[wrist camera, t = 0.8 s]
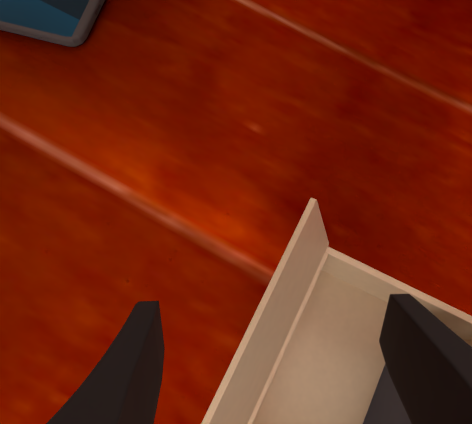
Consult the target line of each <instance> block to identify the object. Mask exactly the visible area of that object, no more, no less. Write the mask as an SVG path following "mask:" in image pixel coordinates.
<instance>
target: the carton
mask: <svg viewBox="0 0 472 424" xmlns="http://www.w3.org/2000/svg"><path fill="white" fill-rule="evenodd" d="M390 294H410V295H412V296H413V297H414V298H415V299H416V300H417V301H419V302H420V303H421V304H422V305H423V306H424V307H425V308H427V309H428V310H429V311H430V312H431V313H432V314H433V315H435V316H436V317H437V318H438V319H439V320H440V321H441V322H443V323H444V324H445V325H446V326H447V327H448V328H450V329H451V330H452V331H453V332H454V333H455V334H457V335H458V336H459V337H460V338H461V339H463V340H464V341H465V342H466V343H467V344H469V345H470V346H471V347H472V316H470V315H468V314H466V313H464V312H462V311H460V310H458V309H456V308H454V307H452V306H450V305H448V304H445V303H443V302H441V301H439V300H437V299H435V298H433V297H431V296H429V295H427V294H425V293H423V292H421V291H419V290H417V289H415V288H413V287H410V286H408V285H406V284H404V283H402V282H400V281H398V280H396V279H394V278H392V277H390V276H388V275H386V274H384V273H382V272H380V271H378V270H375V269H373V268H371V267H369V266H367V265H365V264H363V263H361V262H359V261H357V260H355V259H353V258H351V257H349V256H347V255H345V254H343V253H340V252H338V251H336V250H334V249H332V248H330V247H327V249H326V251H325V254H324V256H323V258H322V260H321V262H320V265H319V267H318V269H317V271H316V273H315V276H314V278H313V280H312V282H311V284H310V287H309V289H308V291H307V293H306V295H305V298H304V300H303V302H302V304H301V307H300V309H299V311H298V313H297V315H296V318H295V320H294V322H293V324H292V326H291V329H290V331H289V333H288V335H287V337H286V340H285V342H284V344H283V346H282V348H281V351H280V353H279V355H278V357H277V359H276V362H275V364H274V366H273V368H272V370H271V373H270V375H269V377H268V379H267V382H266V384H265V386H264V388H263V390H262V393H261V395H260V397H259V399H258V401H257V404H256V406H255V408H254V410H253V412H252V415H251V417H250V419H249V421H248V423H247V424H363V422H364V419H365V416H366V414H367V411H368V408H369V406H370V403H371V400H372V398H373V395H374V392H375V390H376V387H377V384H378V382H379V379H380V376H381V374H382V371H383V368H384V366H385V360H384V357H383V353H382V350H381V347H380V343H379V338H380V334H381V330H382V326H383V321H384V317H385V313H386V309H387V305H388V300H389V296H390Z"/></svg>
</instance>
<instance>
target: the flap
mask: <svg viewBox="0 0 472 424" xmlns="http://www.w3.org/2000/svg"><path fill="white" fill-rule="evenodd" d="M328 245H329V242H328V238H327V235H326V231H325V228H324V224H323V221H322V217H321V213H320V210H319V206H318V203H317V200H316V199H314V198H310V200H309V202H308V205H307V207H306V209H305V211H304V213H303V215H302V217H301V219H300V221H299V223H298V225H297V227H296V229H295V231H294V233H293V235H292V238H291V240H290V242H289V244H288V246H287V248H286V250H285V252H284V254H283V256H282V258H281V260H280V262H279V264H278V266H277V268H276V271H275V273H274V275H273V277H272V279H271V281H270V283H269V285H268V287H267V289H266V291H265V293H264V295H263V297H262V299H261V301H260V304H259V306H258V308H257V310H256V312H255V314H254V316H253V318H252V320H251V322H250V324H249V326H248V328H247V330H246V332H245V335H244V337H243V339H242V341H241V343H240V345H239V347H238V349H237V351H236V353H235V355H234V357H233V359H232V361H231V363H230V365H229V368H228V370H227V372H226V374H225V376H224V378H223V380H222V382H221V384H220V386H219V388H218V390H217V392H216V394H215V396H214V398H213V401H212V403H211V405H210V407H209V409H208V411H207V413H206V415H205V417H204V419H203V421H202V423H201V424H247V423H248V421H249V419H250V417H251V415H252V412H253V410H254V408H255V406H256V404H257V401H258V399H259V397H260V395H261V393H262V390H263V388H264V386H265V384H266V382H267V379H268V377H269V375H270V373H271V370H272V368H273V366H274V364H275V362H276V359H277V357H278V355H279V353H280V351H281V348H282V346H283V344H284V342H285V340H286V337H287V335H288V333H289V331H290V329H291V326H292V324H293V322H294V320H295V318H296V315H297V313H298V311H299V309H300V307H301V304H302V302H303V300H304V298H305V295H306V293H307V291H308V289H309V287H310V284H311V282H312V280H313V278H314V276H315V273H316V271H317V269H318V267H319V265H320V262H321V260H322V258H323V256H324V254H325V251H326V249H327V247H328Z"/></svg>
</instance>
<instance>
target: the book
mask: <svg viewBox="0 0 472 424" xmlns="http://www.w3.org/2000/svg"><path fill="white" fill-rule="evenodd" d="M363 424H411V421H410V419H409V417H408V415H407V413H406V410H405V408H404V406H403V404H402V402H401V399H400V397H399V395H398V393H397V391H396V388H395V386H394V384H393V382H392V379H391V377H390V375H389V372H388V369H387V366H386V363H385V366H384V368H383V371H382V374H381V376H380V379H379V382H378V384H377V387H376V390H375V392H374V395H373V398H372V400H371V403H370V406H369V408H368V411H367V414H366V416H365V419H364V422H363Z"/></svg>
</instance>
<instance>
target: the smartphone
mask: <svg viewBox="0 0 472 424" xmlns="http://www.w3.org/2000/svg"><path fill="white" fill-rule="evenodd" d="M104 1H105V0H0V30H3V31H7V32H11V33H15V34H20V35H24V36H28V37H32V38H36V39H40V40H44V41H48V42H52V43H56V44H60V45H65V46H69V47H76V46H78V45H81V44H83V42H84V41H85V40H86V39H87V37H88V35H89V33H90V31H91V28H92V26H93V24H94V22H95V20H96V18H97V16H98V14H99V12H100V9H101V7H102V5H103V3H104Z"/></svg>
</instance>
